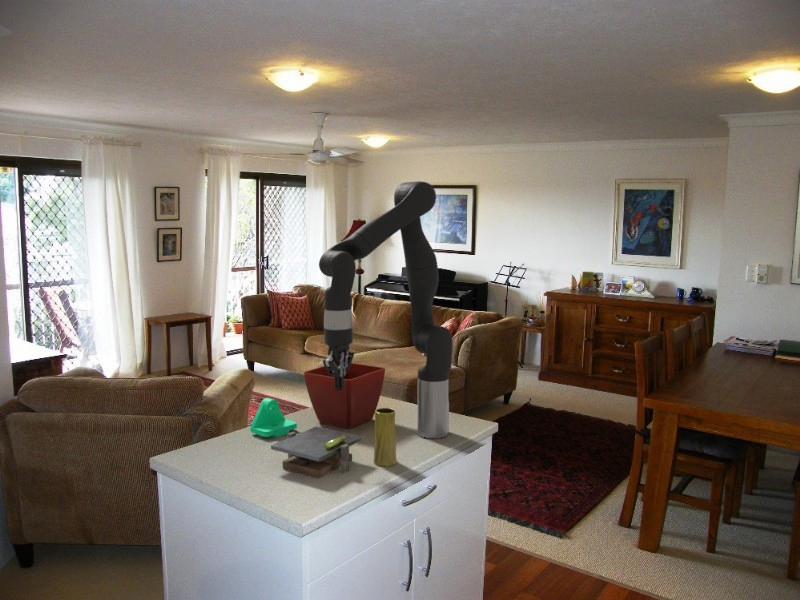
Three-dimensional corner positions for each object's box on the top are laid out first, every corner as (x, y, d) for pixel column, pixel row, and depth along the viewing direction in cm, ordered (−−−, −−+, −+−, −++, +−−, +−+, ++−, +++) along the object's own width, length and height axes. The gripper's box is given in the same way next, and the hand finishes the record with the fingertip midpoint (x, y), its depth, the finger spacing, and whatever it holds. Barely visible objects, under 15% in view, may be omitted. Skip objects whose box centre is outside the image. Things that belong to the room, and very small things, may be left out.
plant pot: (302, 423, 209) (301, 371, 207) (341, 409, 225) (341, 360, 223) (349, 434, 199) (349, 379, 197) (387, 418, 214) (386, 368, 212)
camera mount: (266, 441, 193) (265, 406, 192) (250, 435, 198) (249, 402, 197) (298, 431, 202) (297, 398, 201) (282, 426, 207) (281, 394, 206)
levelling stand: (307, 450, 185) (307, 425, 184) (363, 463, 175) (362, 438, 174) (272, 465, 174) (271, 439, 173) (329, 481, 163) (329, 454, 162)
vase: (373, 458, 179) (372, 407, 177) (395, 458, 179) (395, 406, 177) (374, 467, 173) (374, 414, 171) (397, 466, 173) (397, 413, 171)
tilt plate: (316, 429, 185) (316, 420, 185) (362, 440, 177) (362, 430, 176) (271, 449, 170) (270, 439, 170) (319, 461, 162) (318, 451, 162)
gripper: (337, 331, 168) (339, 397, 170) (362, 323, 180) (363, 385, 182) (312, 329, 171) (314, 394, 173) (338, 321, 183) (339, 382, 185)
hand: (339, 389), depth 177 cm, fingers closed
